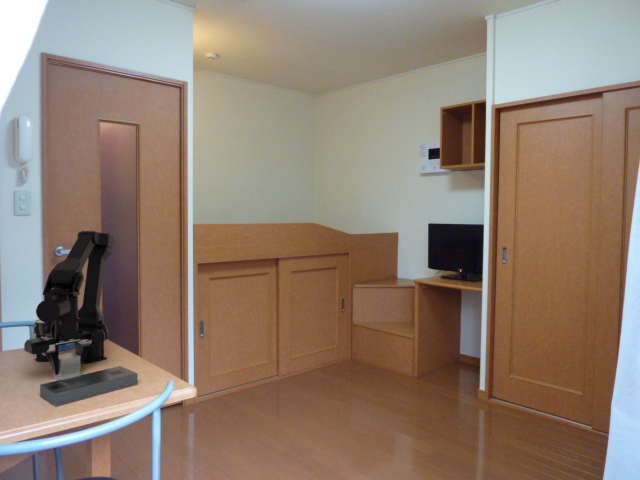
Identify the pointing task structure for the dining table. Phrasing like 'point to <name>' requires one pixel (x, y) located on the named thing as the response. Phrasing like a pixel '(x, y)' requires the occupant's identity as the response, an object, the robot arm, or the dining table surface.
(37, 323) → the beverage can
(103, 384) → the grey slotted board
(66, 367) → the block
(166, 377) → the dining table surface
